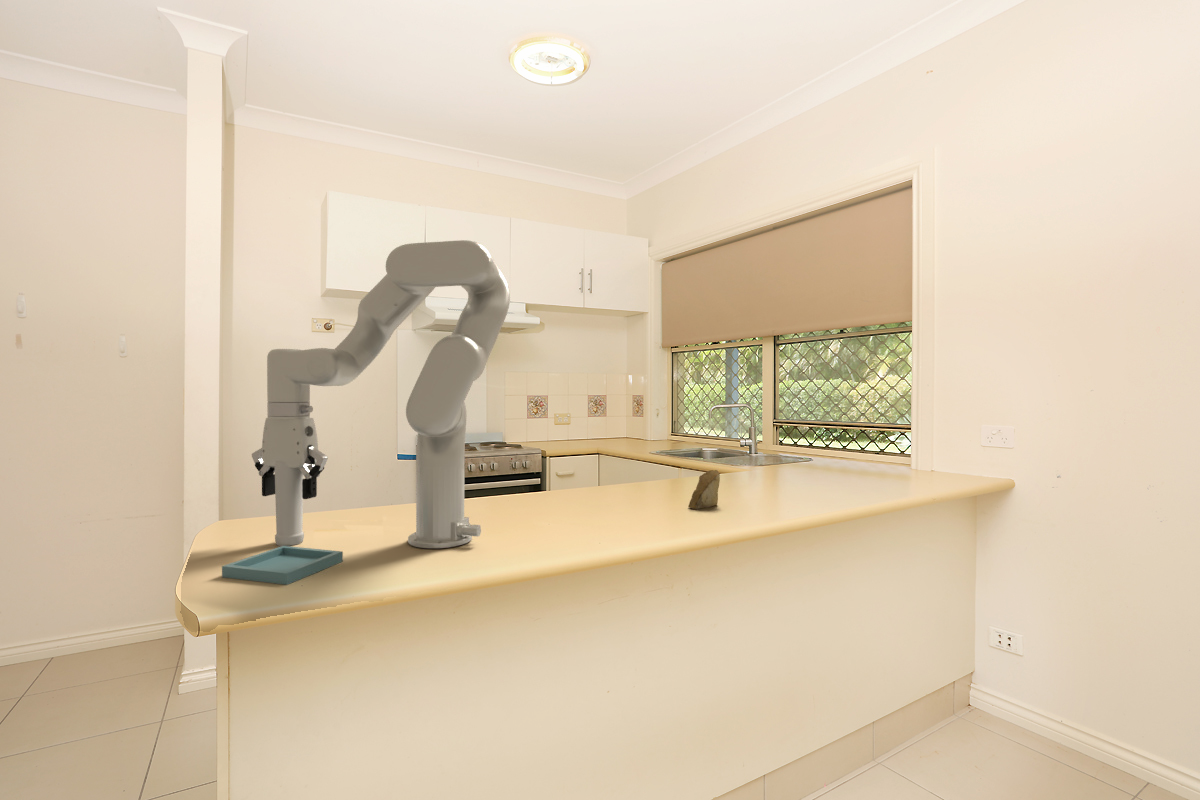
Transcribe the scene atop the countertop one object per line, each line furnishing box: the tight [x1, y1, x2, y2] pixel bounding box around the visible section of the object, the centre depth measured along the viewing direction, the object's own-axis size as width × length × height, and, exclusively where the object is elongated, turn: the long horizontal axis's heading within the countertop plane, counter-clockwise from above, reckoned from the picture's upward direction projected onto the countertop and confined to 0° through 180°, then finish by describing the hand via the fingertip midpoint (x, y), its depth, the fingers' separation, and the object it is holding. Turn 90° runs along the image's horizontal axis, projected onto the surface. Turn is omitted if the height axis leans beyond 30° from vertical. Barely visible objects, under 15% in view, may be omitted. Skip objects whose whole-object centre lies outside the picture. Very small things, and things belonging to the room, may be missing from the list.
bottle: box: [274, 461, 305, 547], centre depth 119 cm, size 5×5×25 cm
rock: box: [688, 469, 721, 510], centre depth 159 cm, size 11×9×10 cm
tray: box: [221, 545, 344, 586], centre depth 103 cm, size 13×13×2 cm
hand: (289, 496), depth 119 cm, fingers open, 9 cm apart
